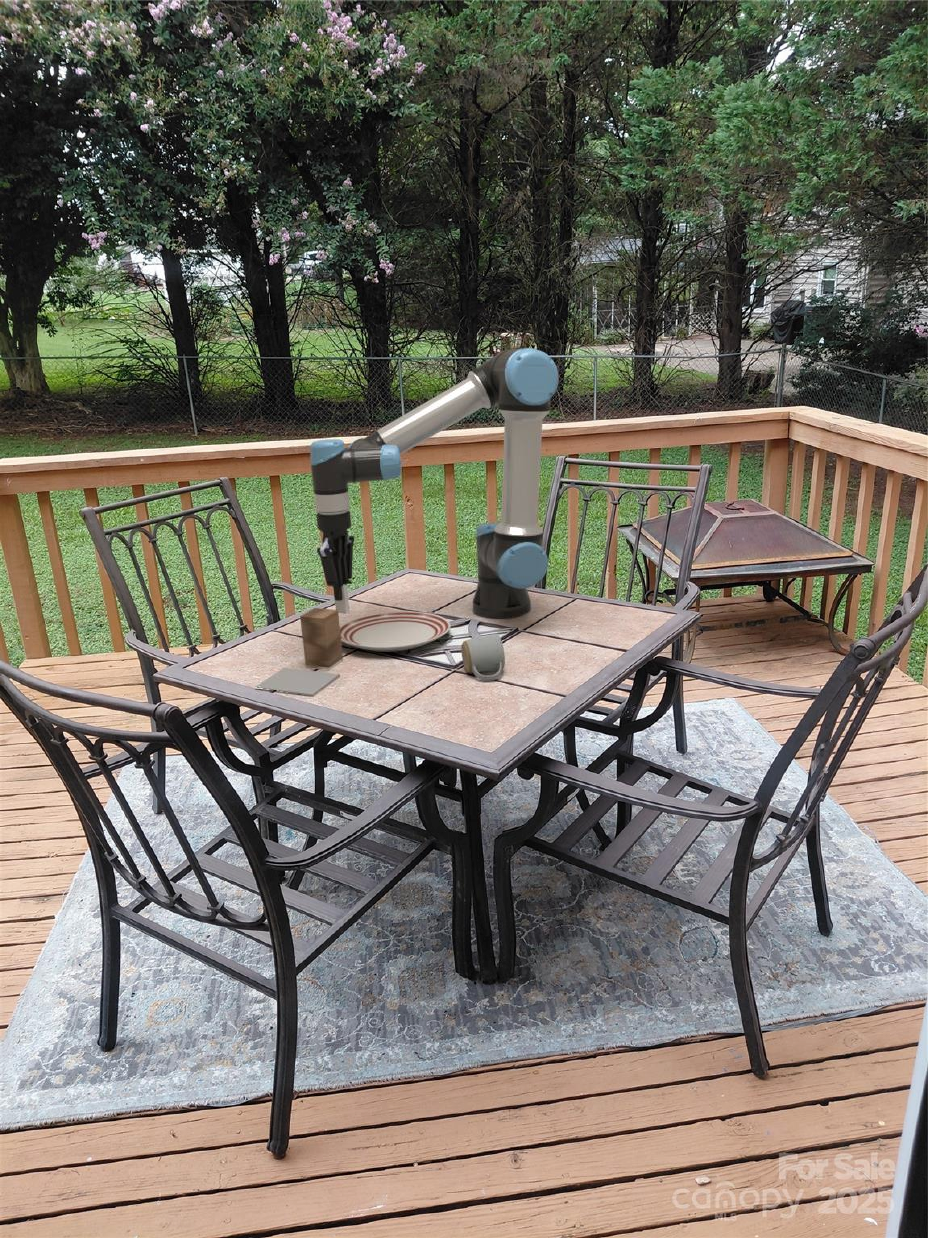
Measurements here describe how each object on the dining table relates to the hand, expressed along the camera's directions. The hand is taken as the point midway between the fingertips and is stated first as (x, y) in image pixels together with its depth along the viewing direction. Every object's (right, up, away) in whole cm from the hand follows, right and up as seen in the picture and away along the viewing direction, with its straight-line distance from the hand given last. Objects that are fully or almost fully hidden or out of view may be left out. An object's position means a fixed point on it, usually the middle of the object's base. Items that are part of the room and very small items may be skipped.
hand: (342, 612), depth 193 cm
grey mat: (-7, -15, -15) cm, 23 cm away
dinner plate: (+11, -7, +8) cm, 15 cm away
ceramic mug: (+33, -13, -14) cm, 38 cm away
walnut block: (-3, -12, -6) cm, 13 cm away
